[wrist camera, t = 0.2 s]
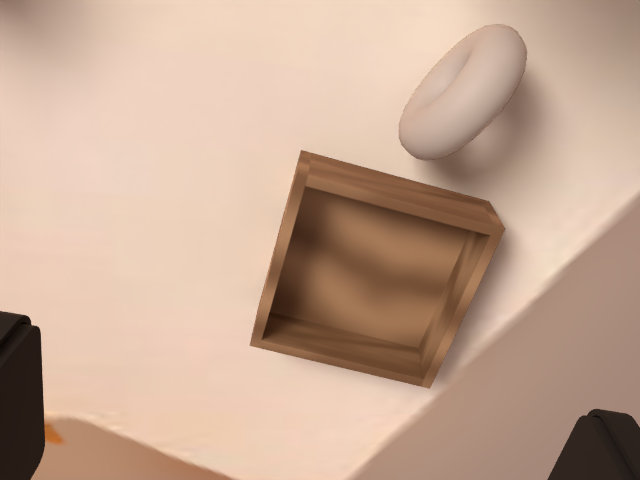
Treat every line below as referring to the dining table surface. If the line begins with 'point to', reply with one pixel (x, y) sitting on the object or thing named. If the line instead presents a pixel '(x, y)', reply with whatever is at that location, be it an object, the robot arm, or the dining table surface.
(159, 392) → the dining table surface
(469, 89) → the donut
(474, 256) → the walnut box
